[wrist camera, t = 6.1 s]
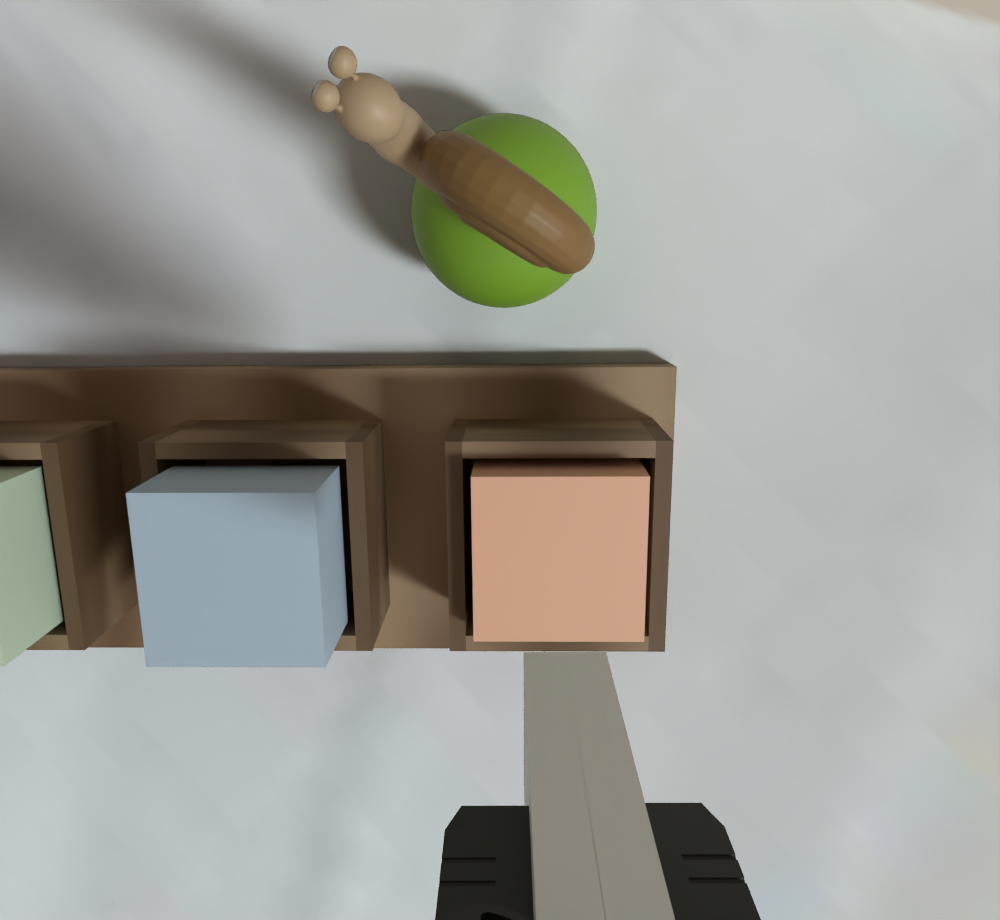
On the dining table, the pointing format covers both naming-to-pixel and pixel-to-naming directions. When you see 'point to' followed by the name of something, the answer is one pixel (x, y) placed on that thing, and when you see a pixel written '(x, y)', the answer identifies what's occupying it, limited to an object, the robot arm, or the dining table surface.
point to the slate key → (239, 565)
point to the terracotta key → (559, 549)
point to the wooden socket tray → (331, 442)
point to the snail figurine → (477, 190)
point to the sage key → (25, 562)
